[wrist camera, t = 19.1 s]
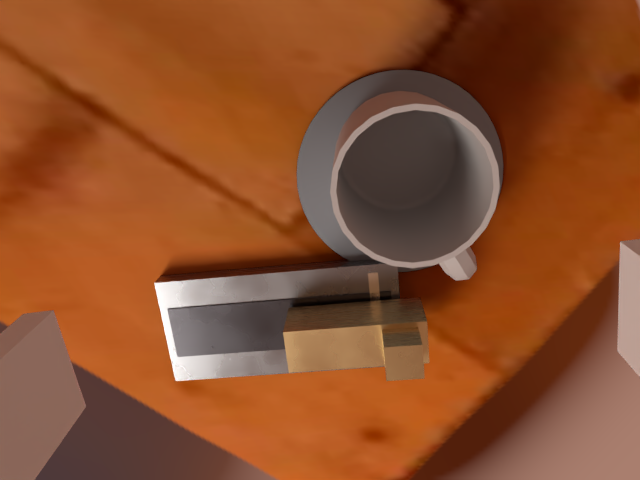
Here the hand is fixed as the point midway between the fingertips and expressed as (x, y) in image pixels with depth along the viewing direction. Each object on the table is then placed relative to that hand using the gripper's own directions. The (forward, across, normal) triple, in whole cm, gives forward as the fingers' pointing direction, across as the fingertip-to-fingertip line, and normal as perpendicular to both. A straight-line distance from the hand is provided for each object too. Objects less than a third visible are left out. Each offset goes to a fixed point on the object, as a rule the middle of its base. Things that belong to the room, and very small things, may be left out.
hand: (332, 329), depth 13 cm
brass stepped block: (+19, -1, -10) cm, 22 cm away
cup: (+21, +4, -2) cm, 22 cm away
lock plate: (+21, -5, -10) cm, 24 cm away
